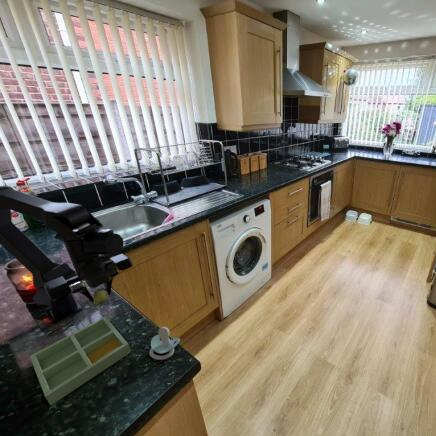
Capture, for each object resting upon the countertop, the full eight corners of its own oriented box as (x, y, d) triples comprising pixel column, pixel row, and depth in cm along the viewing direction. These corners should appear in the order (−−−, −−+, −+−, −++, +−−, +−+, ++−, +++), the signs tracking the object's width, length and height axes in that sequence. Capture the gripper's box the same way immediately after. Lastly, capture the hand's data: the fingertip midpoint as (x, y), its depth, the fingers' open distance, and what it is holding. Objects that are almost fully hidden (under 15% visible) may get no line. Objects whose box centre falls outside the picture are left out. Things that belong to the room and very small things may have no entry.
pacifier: (168, 364, 59) (184, 342, 64) (162, 346, 56) (179, 325, 61) (143, 357, 60) (161, 337, 66) (136, 339, 58) (155, 320, 63)
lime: (97, 310, 68) (90, 297, 66) (89, 304, 71) (82, 291, 68) (114, 300, 72) (108, 287, 70) (106, 294, 74) (99, 282, 72)
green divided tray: (34, 364, 59) (29, 356, 58) (108, 324, 70) (104, 316, 69) (50, 405, 50) (45, 396, 49) (131, 352, 62) (128, 343, 60)
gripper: (43, 280, 54) (68, 332, 60) (134, 246, 68) (147, 292, 74) (32, 264, 60) (56, 312, 66) (117, 236, 74) (131, 278, 80)
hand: (101, 298), depth 71 cm, fingers closed on lime, 3 cm apart
